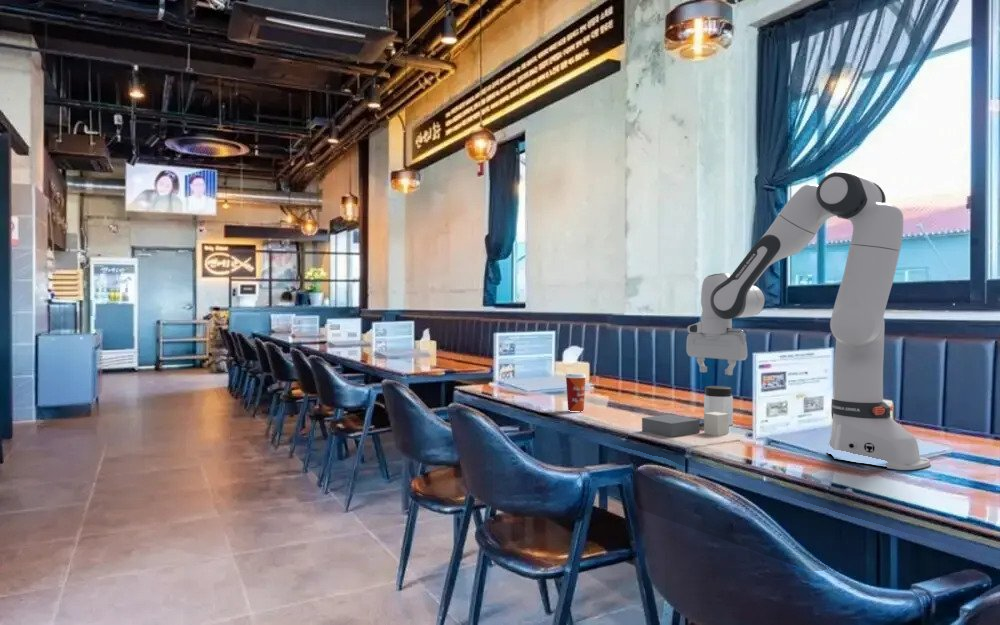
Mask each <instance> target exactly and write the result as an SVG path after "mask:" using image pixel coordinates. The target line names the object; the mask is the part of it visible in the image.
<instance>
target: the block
mask: <svg viewBox="0 0 1000 625" xmlns="http://www.w3.org/2000/svg"><path fill="white" fill-rule="evenodd" d="M703 427H704V429H703V431H704V432H703V433H704V434H707V433H708V435H712V434H713V435H714V436H723V434H724V435H728V433H729V434H730V428H729V427H730V426H729V414H726V413H720V412H710V413H704V412H703Z"/></svg>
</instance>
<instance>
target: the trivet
mask: <svg viewBox="0 0 1000 625" xmlns="http://www.w3.org/2000/svg"><path fill="white" fill-rule="evenodd" d="M700 422H701V421H700V419H697V418H692V417H685V416H680V415H674V414H671V413H670V414H662V415H655V416H646V417H642V418H641V431H642V432H646V433H651V434H655V435H659V436H660V435H661V436H664V437H669V438H676V437H682V436H687V435H689V436H690V435H695V434H700V429H701V428H700V427H701V426H700V424H701V423H700Z"/></svg>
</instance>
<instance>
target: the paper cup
mask: <svg viewBox="0 0 1000 625" xmlns="http://www.w3.org/2000/svg"><path fill="white" fill-rule="evenodd" d="M565 378H566V380H565V382H566V397H567V398H566V399H567V411H568V410H570V411H583V410H584V407H585V395H586V392H585V391H586V378H587V375H586V373H584V372H567V373H566V375H565ZM583 412H584V411H583Z"/></svg>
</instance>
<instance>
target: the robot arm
mask: <svg viewBox="0 0 1000 625" xmlns="http://www.w3.org/2000/svg"><path fill="white" fill-rule="evenodd" d="M886 198H887V197H886V195H885V192H884V190H883V189H882V188H881V186H879V185H878V184H876V182H872V181H871V180H869V179H868V178H866V177H864V176H863V175H859V174H856V173H854V172H850V171H847V170H846V171H834V172H831V173H829V174H828V175H826V176H825V177H823V178H822V179H821V180H820V182H819V183H818V184H813V183H812V184H811V183H810V184H805V185H802V186H801V187H800V188H799V189H798V190H797V191H796V192H795V193H794V194H793V195H792V196H791V197H790V198H789V200H788V201H787V202H786V204H784V206H783V207H782V209H781V211H780V212H779V213H778V215H777V216H776V218H775V219H774V221H773V222H772V224H771V225H770V226H769V227H768V229H767V230H766V232H765V233H764V234H763V235H762V236H761V237H760V239H759V240H758V242H756V243H755V245H753V247H752V248H751V249H750V251H748V253H747V254H746V256H745V257H744V258H743V260H742V261H741V262H740V263H739V265H738V266H737V267H736V268H735V270H734V271H733V272H732V273H731V274H729V273H725V272H724V273H723V272H720V273H714V274H710V275H707V276H706V277H705V278H704V279H703V281H702V285H701V294H700V296H701V297H700V304H701V309H702V311H701V316H700V321H698V322H696V323H693V324H690V325H688V326H687V328H686V329H687V333H689V334H688V335H687V336H686V350H685V351H686V354H687V356H688V357H691V358H692V357H696V363H697V364H698V366H699V372H700V373H707V372H708V366H706V365H705V361H706V359H717V360H727V364H728V366H727V368H725V369H724V375H726V376H733V375H734V373H733V372H734V369H735V367H736V365H737V361H746V359H747V358H748V345H747V344H748V343H747V334H746V332H745V331H744V330H743V328H742V329H741V328H732V327H733V321H732V319H735V318H751V317H754V316H757V315H759V314H760V313H761V312H762V311H763V309H764V307H765V303H766V298H765V294H764V292H763V290H761V288H760V287H758V286H756V285H755V284H756V283H757V281H758V280H759V279H760V277H761V276H762V275H763V274H764V272H766V270H767V269H768V268H769V267H770V266H771V265H773V264H775V263H776V262H778V261H780V260H783V259H785V258H788V257H791V256H795V255H797V254H799V253H801V251H803V250H804V249H805V248H806V247H807V246H808V245H809V244H810V243H811V242H812V240H813V239H814V237H815V236H816V235H817V233H818V232H819V231H820V229H821V228H822V226H823V225H824V223H825V222H827V221H828V219H830V218H833V217H837V218H839V219H843V220H848V221H850V222H851V226H852V235H851V241H850V244H849V248H848V252H847V257H846V261H845V267H844V271H843V276H842V278H841V282H840V285H839V287H838V288H839V289H838V290H837V291H838V292H837V295H836V298H835V302H834V306H833V309H832V313H831V316H830V322H829V327H830V331H831V334H832V335H833V337H834V338H835V350H834V361H833V367H832V368H833V372H832V374H833V376H832V378H833V384H832V385H833V398H831V405H830V406H831V412H830V414H831V418H832V422H831V432H830V439H829V442H828V445H829V444H830V446H831V447H832V448H833V449H834V450H841V451H846V452H850V453H853V454H858V455H863V456H868V457H872V458H876V459H881V460H885V461H887V462H888V463H886V464H885V465H886V467H887V468H886V469H891V470H898V471H912V470H919V469H924V468H928V467H929V466H931V459H929V458H926V457H923V456H921V455H920V449H919V444H918V441H917V439H916V437H915V436H914V434H912V433H910V432H909V431H908V430H906V428H904V427H903V426H902V425H900V424H899V423H898V422H897V421H896V420H894V419H893V418H892V417H891V412H892V411H895V409H893V408H895V406H894V405H888V404H887V403H886V402H885V401H884V356H885V354H884V352H885V329H886V328H885V311H886V307H887V304H888V300H889V296H890V293H891V289H892V286H893V283H894V279H895V278H894V277H895V274H896V272H897V266H898V260H899V258H900V257H899V256H900V252H901V247H902V244H903V243H902V242H903V234H904V233H903V232H904V214H903V212H902V210H901V209H900V208H899V207H897V206H895V205H892V204H890V203H886V201H887V200H886Z"/></svg>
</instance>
